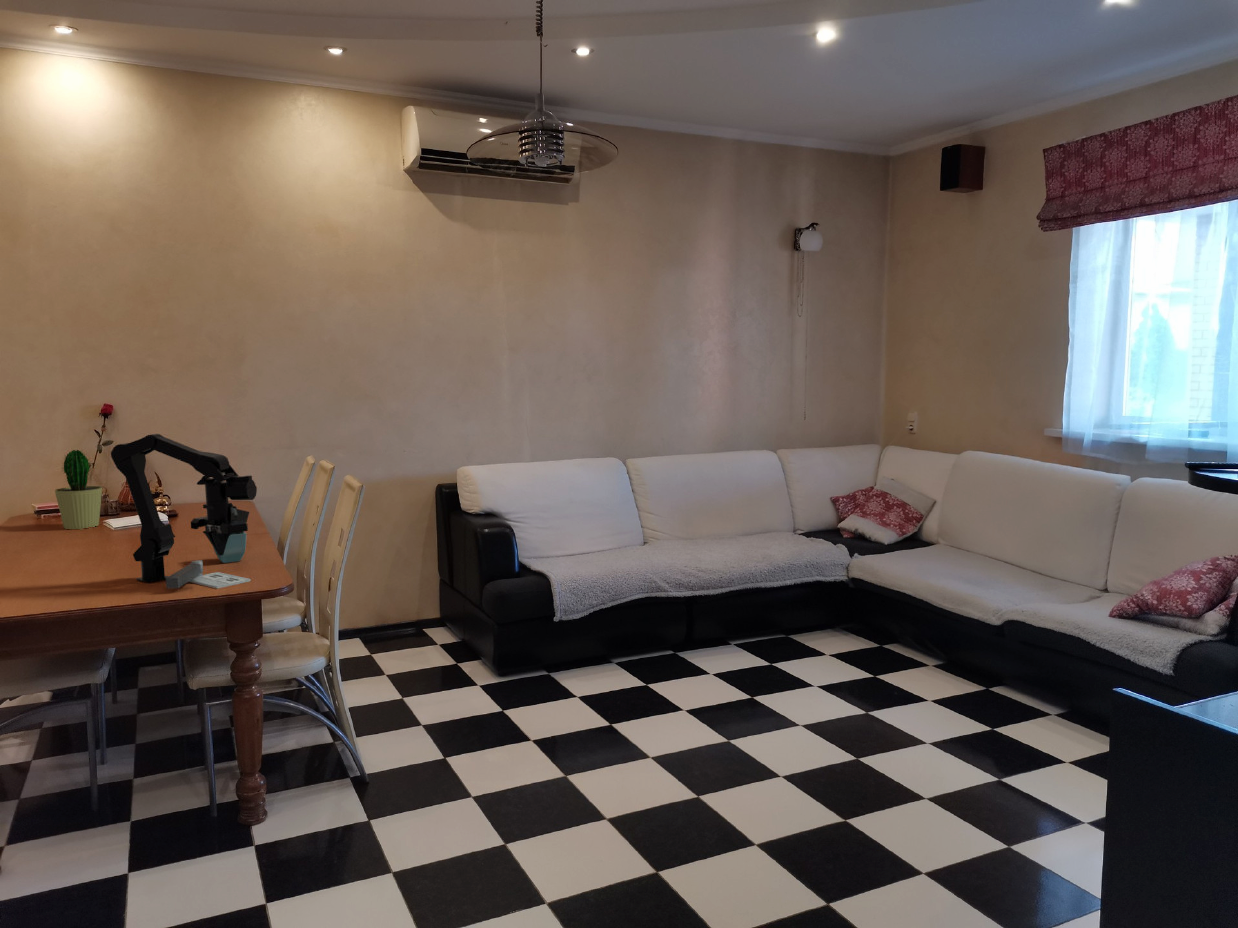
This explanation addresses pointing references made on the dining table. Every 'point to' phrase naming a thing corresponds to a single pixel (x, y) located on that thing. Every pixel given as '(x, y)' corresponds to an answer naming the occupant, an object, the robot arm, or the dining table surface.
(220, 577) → the label board
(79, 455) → the potted cactus
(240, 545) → the flower pot
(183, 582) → the bar
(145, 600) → the dining table surface
